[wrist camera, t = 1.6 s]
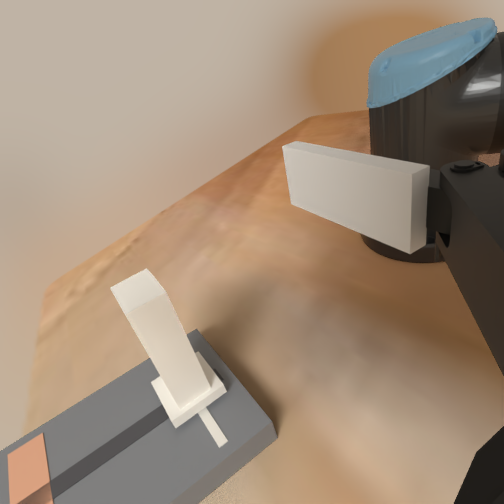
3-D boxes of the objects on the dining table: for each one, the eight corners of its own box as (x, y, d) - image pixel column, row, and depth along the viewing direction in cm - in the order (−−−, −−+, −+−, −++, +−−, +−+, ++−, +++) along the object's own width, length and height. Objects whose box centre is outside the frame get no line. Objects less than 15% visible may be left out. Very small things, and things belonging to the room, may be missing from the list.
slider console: (203, 344, 41) (196, 328, 39) (277, 437, 30) (271, 420, 29) (-29, 494, 32) (-49, 480, 31) (-39, 698, 22) (-69, 692, 20)
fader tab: (201, 357, 35) (156, 259, 29) (226, 391, 31) (181, 287, 25) (154, 388, 33) (95, 291, 27) (175, 428, 30) (112, 326, 23)
